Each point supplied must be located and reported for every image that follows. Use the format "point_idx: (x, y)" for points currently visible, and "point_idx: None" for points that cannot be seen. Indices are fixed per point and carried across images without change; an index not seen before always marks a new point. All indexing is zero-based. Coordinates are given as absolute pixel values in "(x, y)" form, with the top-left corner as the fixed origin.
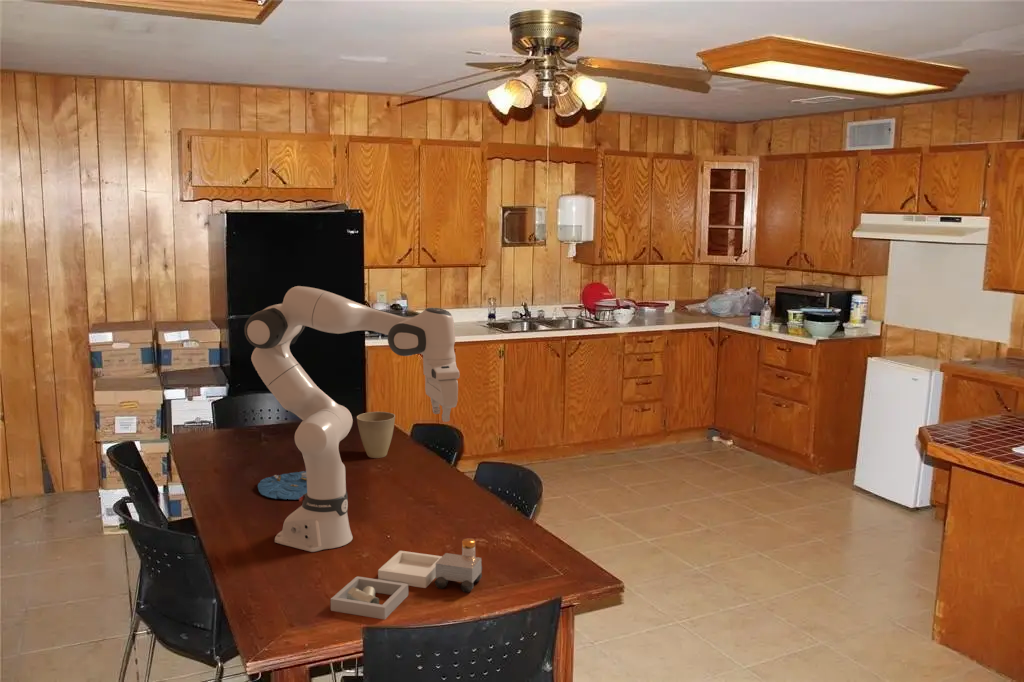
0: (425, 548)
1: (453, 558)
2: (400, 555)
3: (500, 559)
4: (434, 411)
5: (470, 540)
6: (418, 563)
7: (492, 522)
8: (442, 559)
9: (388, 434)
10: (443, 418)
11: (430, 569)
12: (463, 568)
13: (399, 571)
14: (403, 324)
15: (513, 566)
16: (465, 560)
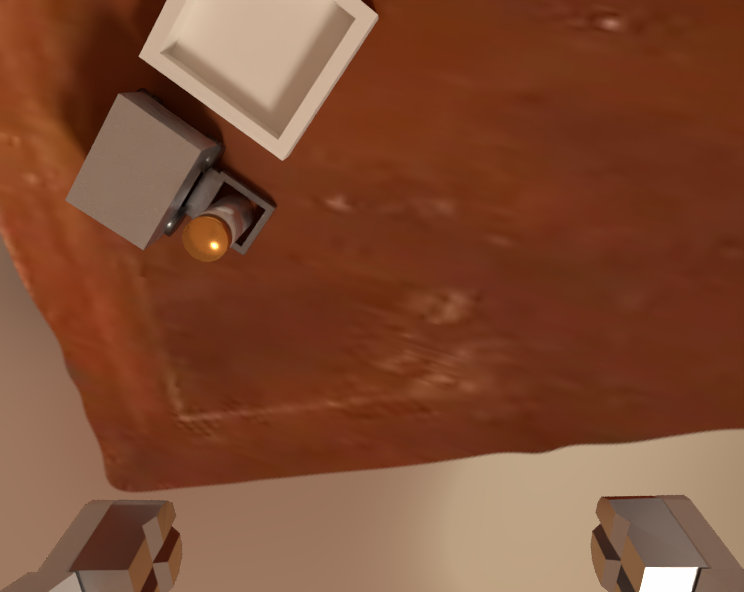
0: (450, 131)
1: (150, 164)
2: (345, 10)
3: (302, 316)
4: (621, 525)
5: (205, 246)
6: (316, 73)
7: (564, 374)
8: (148, 125)
9: None
10: (64, 533)
11: (193, 87)
12: (79, 176)
13: None
14: None
15: (249, 333)
16: (130, 197)
